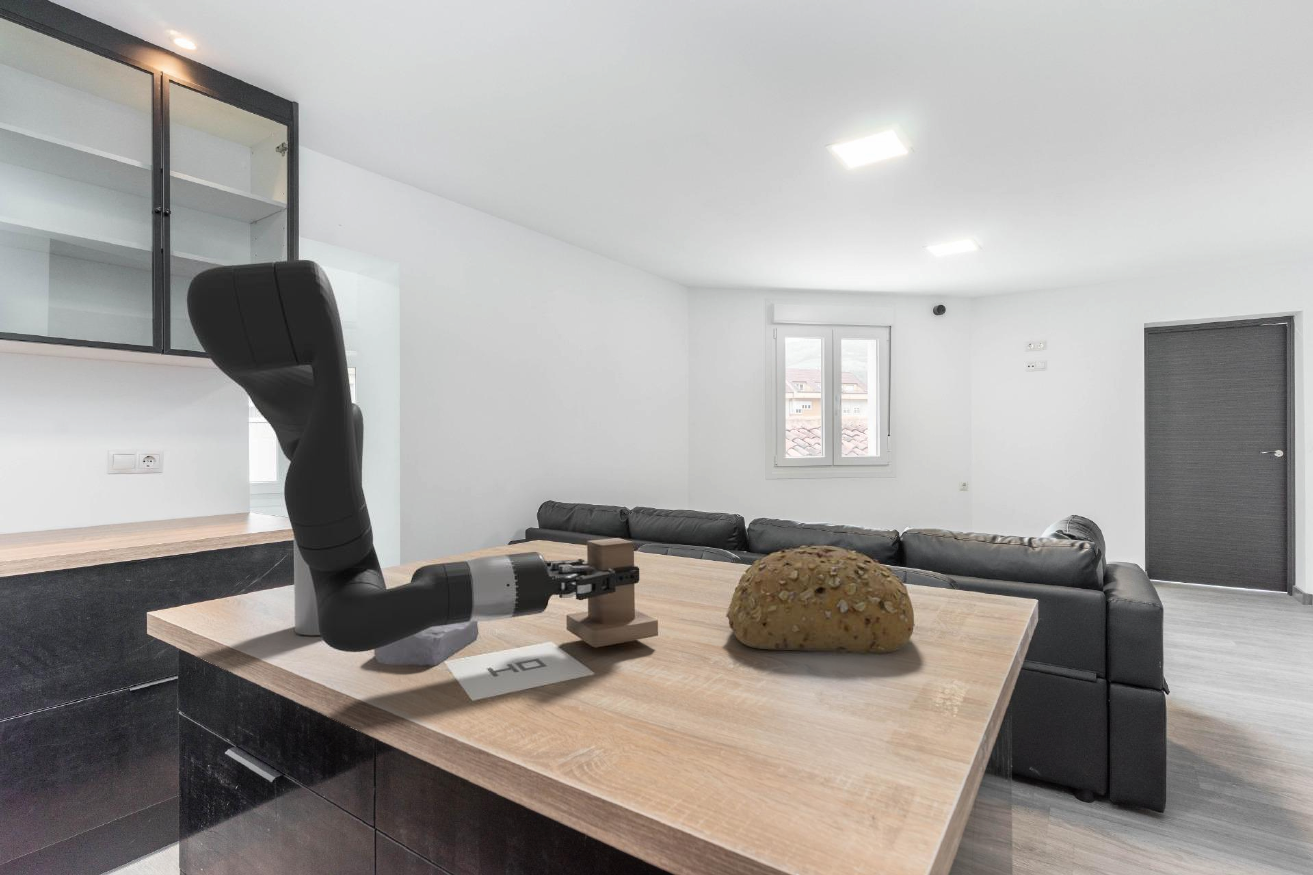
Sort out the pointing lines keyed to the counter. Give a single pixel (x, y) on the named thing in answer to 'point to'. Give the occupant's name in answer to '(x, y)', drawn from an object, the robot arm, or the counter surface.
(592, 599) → the walnut stamp
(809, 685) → the counter surface
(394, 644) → the stone block
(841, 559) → the bread
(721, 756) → the counter surface
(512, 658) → the tile
